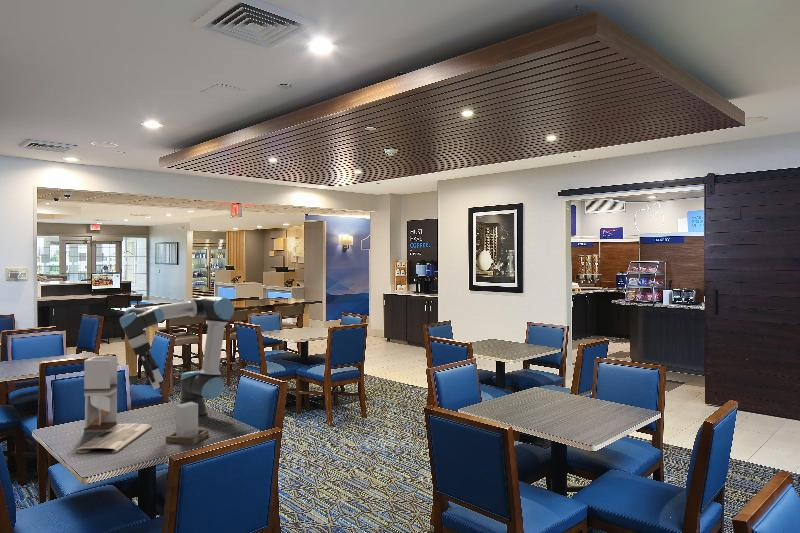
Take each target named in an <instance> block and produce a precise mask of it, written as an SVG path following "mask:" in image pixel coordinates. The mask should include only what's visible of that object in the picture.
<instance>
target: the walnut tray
mask: <svg viewBox="0 0 800 533" xmlns="http://www.w3.org/2000/svg"><path fill="white" fill-rule="evenodd" d="M208 436H209V429H204V428H203V429H200V428H198V435H197V436H195V437H193V438H187V437H176V431H174V432H172V433H170V434H168V435H166V436H165V444H166V443H168V444H177V443H179V444H181V445H189V446H190V445H192V446H193V445H195V444H197V443H198V442H200V441H201V440H203V439H205V438H207V437H208ZM179 444H178V445H179Z"/></svg>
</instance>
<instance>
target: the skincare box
mask: <svg viewBox="0 0 800 533" xmlns="http://www.w3.org/2000/svg"><path fill="white" fill-rule="evenodd" d="M175 423H176V424H175V432H176V437H187V438H193V437H195V436H197V435H198V429H199V416H198V404H197V403H194V402H188V403H184V404H180V403H179V404H176V405H175Z"/></svg>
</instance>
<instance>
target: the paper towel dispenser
mask: <svg viewBox="0 0 800 533" xmlns="http://www.w3.org/2000/svg"><path fill="white" fill-rule="evenodd" d="M83 365H84V367H83V375H84V378H83V380H84V382H83V384H84V385H83V393H84V394H83V395H84V398H85V399H84V428H83V433H84V434H85V433H86V432H87V433H88V434H89V432H92V433H104V432H105V431H107V430H109V429H110V428H112V427H113V426H115V425H118V421H117V420H118V417H117V416H118V356H92V357H89V358H87V359H85V360H84V363H83ZM87 433H86V434H87Z"/></svg>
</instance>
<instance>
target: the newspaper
mask: <svg viewBox="0 0 800 533" xmlns="http://www.w3.org/2000/svg"><path fill="white" fill-rule="evenodd" d="M150 429H152V425H150V424H149V423H135V422H134V423H133V422H132V423H117V425H115V426H113V427H112V428H110V429H109V430H107V431H105V432H101V433H100V434H98V435H97V436H95V437H94V438H92V439H91V440H89V441H87V442H86V443H84V444H83V445H81V446H79V447H78V448H76V449H75V451H74V452H75V453H76V454H78V453H79V454H81V453H83V454H84V453H89V452H91V451H92V450H94V449H110V450H112V451H111V453H113V454H116V453H118V452H119V451H120V450H122V449H123V448H125V447H126V446H128V445H129V444H130V443H132V442H133V441H134V440H135V439H137V438H139V437H140V436H142V435H143V434H144V433H145V432H147V431H149V430H150Z"/></svg>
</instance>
